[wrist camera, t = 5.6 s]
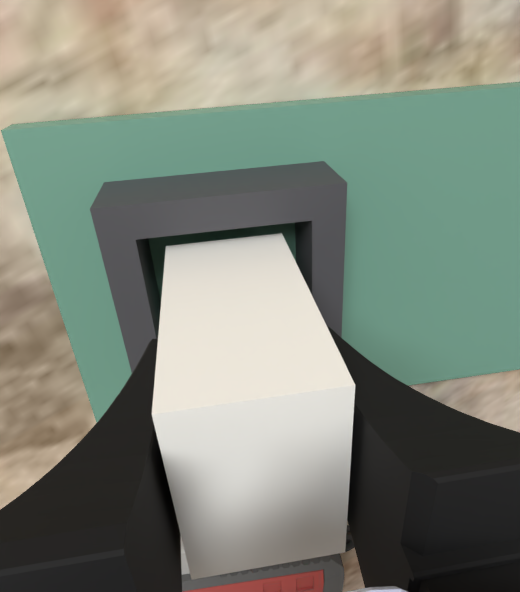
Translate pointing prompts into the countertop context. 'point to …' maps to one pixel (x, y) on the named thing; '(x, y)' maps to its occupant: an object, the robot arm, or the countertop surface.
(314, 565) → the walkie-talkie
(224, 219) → the board
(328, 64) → the countertop surface
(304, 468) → the plug
